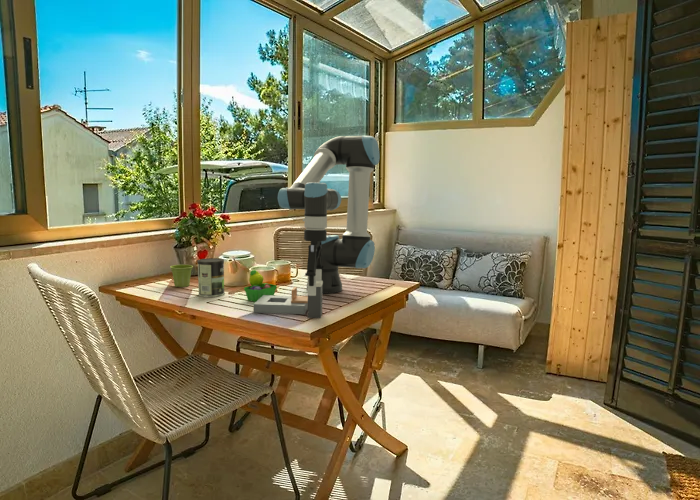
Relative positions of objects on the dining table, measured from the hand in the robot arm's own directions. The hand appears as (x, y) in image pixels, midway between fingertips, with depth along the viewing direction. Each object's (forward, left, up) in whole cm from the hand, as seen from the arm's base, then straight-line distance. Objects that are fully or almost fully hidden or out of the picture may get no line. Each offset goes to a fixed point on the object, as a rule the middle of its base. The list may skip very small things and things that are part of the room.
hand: (314, 291), depth 169 cm
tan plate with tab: (-9, -6, -6) cm, 12 cm away
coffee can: (-27, -46, -9) cm, 54 cm away
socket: (-9, -13, -9) cm, 18 cm away
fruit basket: (-22, -25, -9) cm, 35 cm away
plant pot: (-41, -64, -9) cm, 77 cm away
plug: (0, 0, -9) cm, 9 cm away
